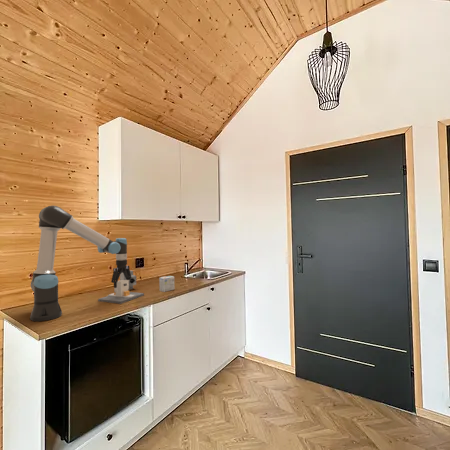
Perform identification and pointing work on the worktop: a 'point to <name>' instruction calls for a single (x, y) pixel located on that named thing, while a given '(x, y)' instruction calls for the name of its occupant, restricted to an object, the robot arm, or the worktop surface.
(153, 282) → the worktop surface
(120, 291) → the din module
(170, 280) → the light bulb box
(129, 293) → the din rail board
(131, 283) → the circuit breaker
